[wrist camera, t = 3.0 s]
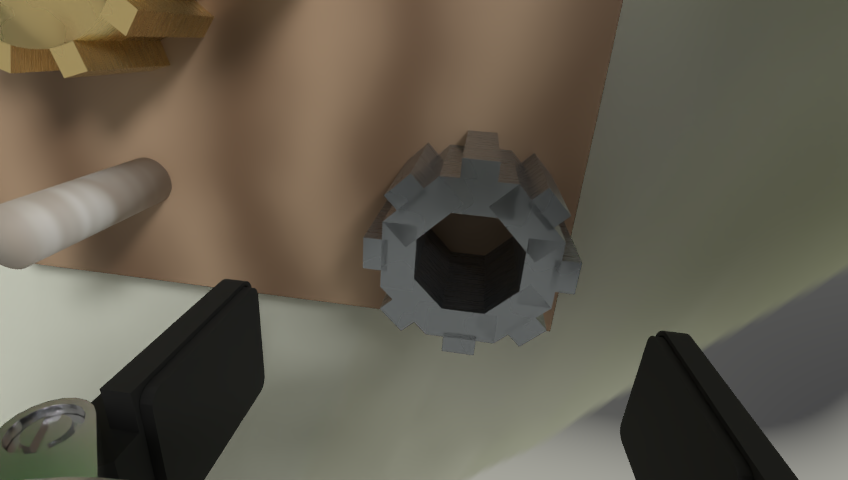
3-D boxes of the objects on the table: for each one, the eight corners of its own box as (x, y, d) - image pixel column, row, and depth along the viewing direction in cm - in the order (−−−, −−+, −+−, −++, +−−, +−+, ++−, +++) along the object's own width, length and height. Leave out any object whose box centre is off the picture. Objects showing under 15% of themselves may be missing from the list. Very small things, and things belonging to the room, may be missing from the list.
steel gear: (575, 140, 17) (603, 172, 13) (542, 298, 19) (557, 366, 15) (393, 123, 17) (365, 148, 13) (387, 279, 20) (361, 339, 16)
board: (662, -254, 14) (887, -633, 6) (544, 307, 22) (576, 451, 14) (-99, -268, 16) (-643, -556, 8) (51, 244, 24) (-154, 339, 16)
